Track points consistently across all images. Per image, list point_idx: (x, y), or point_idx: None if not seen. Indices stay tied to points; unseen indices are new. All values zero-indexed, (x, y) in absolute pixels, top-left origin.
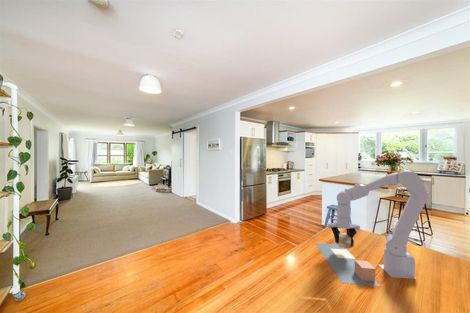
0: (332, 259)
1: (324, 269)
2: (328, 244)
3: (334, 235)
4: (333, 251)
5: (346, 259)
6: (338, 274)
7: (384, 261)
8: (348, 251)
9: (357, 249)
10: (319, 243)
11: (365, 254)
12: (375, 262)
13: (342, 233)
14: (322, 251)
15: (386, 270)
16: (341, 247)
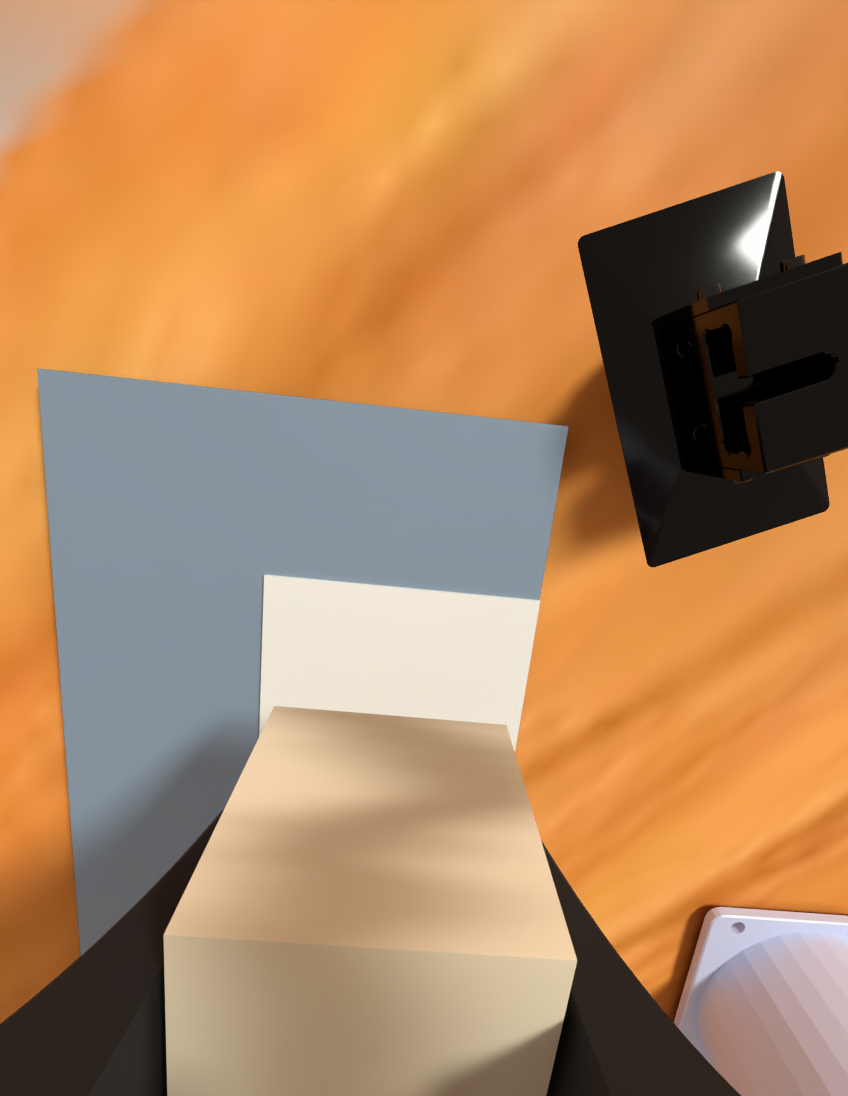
0: (162, 843)
1: (4, 971)
2: (295, 422)
3: (127, 942)
4: (272, 660)
5: None
6: None
7: (768, 1092)
8: (529, 656)
9: (756, 544)
10: (122, 382)
11: (762, 680)
12: (732, 844)
13: (424, 988)
14: (84, 660)
15: (700, 1018)
16: (492, 528)
